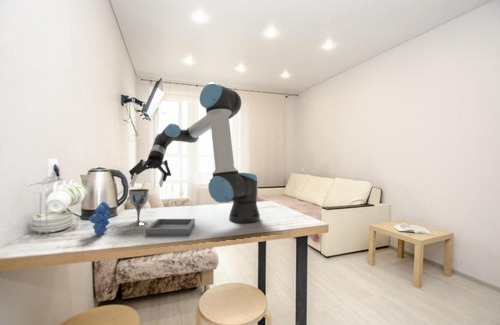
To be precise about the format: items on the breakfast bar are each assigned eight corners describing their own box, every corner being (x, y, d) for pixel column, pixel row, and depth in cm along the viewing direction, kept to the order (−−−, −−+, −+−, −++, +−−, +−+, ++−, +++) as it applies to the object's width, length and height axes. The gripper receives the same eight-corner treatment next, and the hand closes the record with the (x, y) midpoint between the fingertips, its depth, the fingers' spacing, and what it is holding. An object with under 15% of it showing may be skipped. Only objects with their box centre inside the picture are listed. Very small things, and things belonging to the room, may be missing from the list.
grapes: (94, 229, 91) (95, 200, 91) (113, 228, 93) (114, 199, 93) (81, 239, 80) (82, 205, 80) (103, 238, 82) (104, 205, 82)
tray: (194, 224, 102) (194, 218, 102) (188, 235, 87) (188, 228, 87) (158, 224, 100) (158, 218, 100) (145, 235, 85) (145, 229, 85)
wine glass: (140, 226, 96) (140, 191, 96) (123, 225, 98) (124, 190, 98) (151, 222, 104) (152, 189, 104) (136, 220, 106) (137, 188, 106)
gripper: (180, 160, 129) (173, 190, 114) (135, 159, 127) (121, 189, 112) (178, 150, 124) (171, 180, 109) (131, 149, 122) (116, 179, 107)
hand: (146, 185), depth 110 cm, fingers open, 13 cm apart
